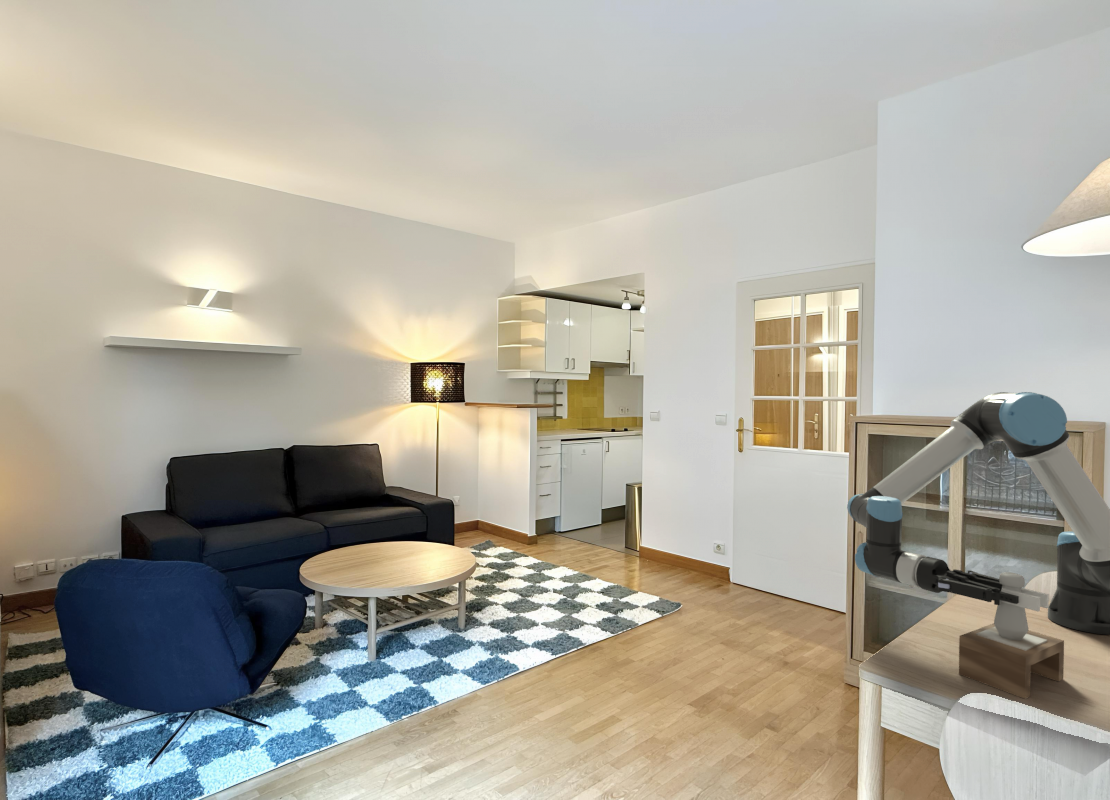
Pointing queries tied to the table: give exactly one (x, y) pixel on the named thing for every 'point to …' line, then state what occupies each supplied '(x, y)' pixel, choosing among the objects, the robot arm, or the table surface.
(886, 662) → the table surface
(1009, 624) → the salt shaker
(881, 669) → the table surface
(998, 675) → the walnut shelf
